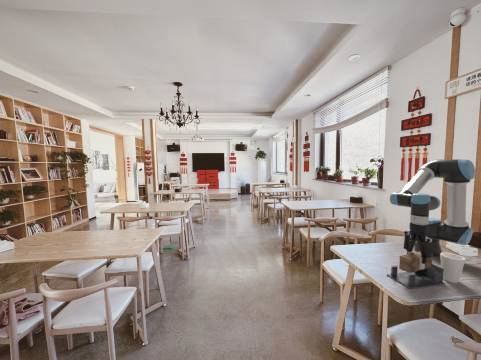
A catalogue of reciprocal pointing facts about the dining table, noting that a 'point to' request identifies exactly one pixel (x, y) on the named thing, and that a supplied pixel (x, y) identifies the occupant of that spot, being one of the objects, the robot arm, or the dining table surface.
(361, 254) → the dining table surface
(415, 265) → the brown wooden block
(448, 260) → the foam cup
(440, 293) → the dining table surface
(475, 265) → the dining table surface
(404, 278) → the bracket board
